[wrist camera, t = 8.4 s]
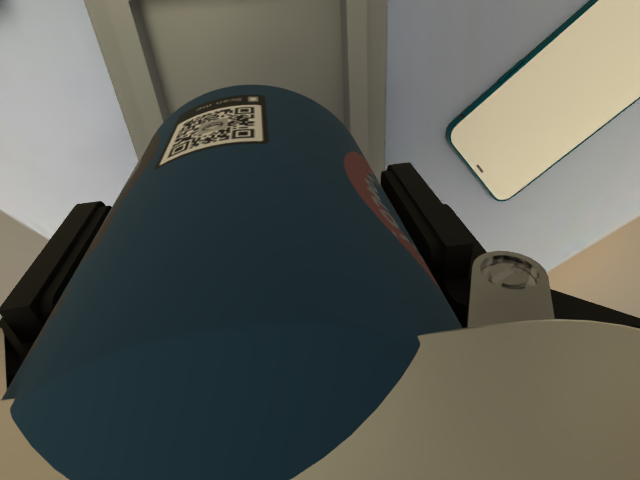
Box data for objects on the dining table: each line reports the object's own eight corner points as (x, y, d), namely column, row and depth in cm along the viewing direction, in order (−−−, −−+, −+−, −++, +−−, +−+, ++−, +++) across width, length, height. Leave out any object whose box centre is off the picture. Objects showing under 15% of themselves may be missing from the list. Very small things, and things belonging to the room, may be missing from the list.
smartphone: (671, -79, 23) (437, 129, 27) (685, -81, 22) (442, 134, 27) (705, 36, 26) (494, 201, 31) (719, 38, 26) (501, 207, 30)
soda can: (369, 241, 16) (559, 693, 6) (193, 281, 16) (96, 805, 6) (343, 49, 12) (758, 442, 2) (109, 102, 12) (-575, 759, 2)
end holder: (384, -87, 20) (399, -92, 18) (381, 187, 29) (391, 205, 27) (69, -61, 19) (46, -64, 17) (162, 215, 28) (154, 236, 26)
